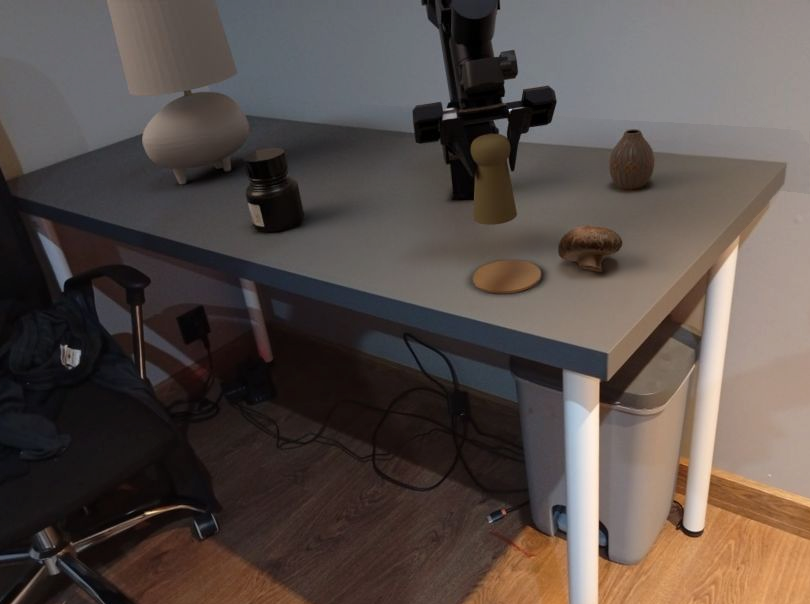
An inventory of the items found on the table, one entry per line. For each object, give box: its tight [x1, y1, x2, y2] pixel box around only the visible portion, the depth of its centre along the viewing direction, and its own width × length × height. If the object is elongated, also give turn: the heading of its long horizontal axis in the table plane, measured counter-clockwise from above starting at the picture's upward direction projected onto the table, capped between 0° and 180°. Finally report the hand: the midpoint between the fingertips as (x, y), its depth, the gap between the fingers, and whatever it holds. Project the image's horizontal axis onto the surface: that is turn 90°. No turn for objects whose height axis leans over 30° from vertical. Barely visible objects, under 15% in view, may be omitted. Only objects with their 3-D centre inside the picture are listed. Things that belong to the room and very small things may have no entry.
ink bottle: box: [242, 147, 305, 233], centre depth 123 cm, size 10×9×12 cm
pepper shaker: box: [470, 133, 518, 226], centre depth 98 cm, size 6×6×11 cm
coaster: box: [472, 259, 542, 295], centre depth 97 cm, size 9×9×1 cm
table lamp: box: [106, 0, 250, 185], centre depth 146 cm, size 23×22×40 cm
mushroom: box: [557, 224, 623, 273], centre depth 95 cm, size 8×8×6 cm
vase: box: [608, 128, 656, 190], centre depth 117 cm, size 7×7×9 cm
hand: (493, 172), depth 96 cm, fingers closed on pepper shaker, 5 cm apart
